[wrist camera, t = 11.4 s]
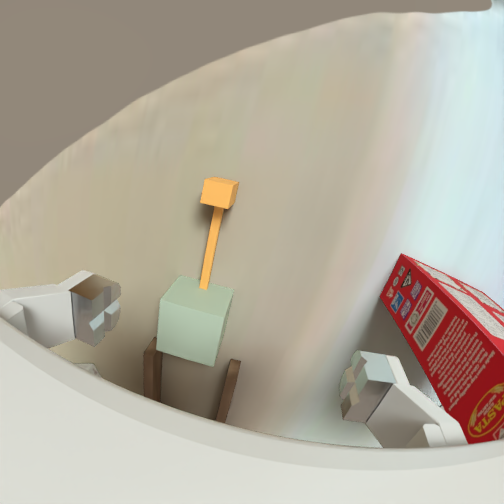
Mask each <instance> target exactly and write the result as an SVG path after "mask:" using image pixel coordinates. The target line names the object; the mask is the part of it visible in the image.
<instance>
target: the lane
mask: <svg viewBox="0 0 504 504" xmlns="http://www.w3.org/2000/svg"><path fill="white" fill-rule="evenodd" d="M156 346H157V338H156V337H154V339H153V340H152V342H151V343H150V345H149V346H148V348H147V349H146V351H145V352H144V397H146V398H149V399H152V400H154V401H157V402H159V403H160V393H161V370H162V353H163V352H161V351H158V350H156ZM240 363H241V361H238V360H233V359H231V361H230V365H229V369H228V373H227V377H226V381H225V385H224V389H223V393H222V397H221V401H220V405H219V409H218V413H217V417H216V421H217V422H221V423H224V424H225V420H226V417H227V413H228V410H229V406H230V403H231V399H232V396H233V392H234V389H235V385H236V381H237V377H238V372H239V367H240Z"/></svg>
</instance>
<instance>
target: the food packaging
mask: <svg viewBox="0 0 504 504" xmlns="http://www.w3.org/2000/svg"><path fill="white" fill-rule="evenodd" d="M380 298H381V300H382V301H383V303H384V304H385V306H386V307H387V309H388V311H389V312H390V314H391V315H392V317H393V319H394V320H395V322H396V324H397V325H398V327H399V328H400V330H401V332H402V333H403V335H404V337H405V339H406V340H407V342H408V344H409V345H410V347H411V349H412V350H413V352H414V354H415V356H416V357H417V359H418V361H419V363H420V365H421V366H422V368H423V370H424V372H425V374H426V375H427V377H428V379H429V381H430V383H431V385H432V386H433V388H434V390H435V392H436V394H437V396H438V398H439V400H440V402H441V404H442V406H443V408H444V410H445V412H446V413H447V414H449V415H450V416H451V417H452V418H453V419H455V420H456V421H457V422H458V423H459V425H460V427H461V429H462V431H463V434H464V436H465V438H466V440H467V443H468V444H474V443H481V442H488V441H494V440H500V439H504V309H502V308H501V307H500V306H499V305H498V304H497V303H495V302H494V301H493V300H492V299H491V298H489V297H488V296H487V295H486V294H485V293H483V292H481V291H479V290H477V289H475V288H473V287H471V286H469V285H467V284H465V283H463V282H461V281H459V280H457V279H455V278H453V277H451V276H449V275H447V274H445V273H443V272H441V271H439V270H436V269H434V268H432V267H430V266H428V265H426V264H424V263H421V262H419V261H417V260H415V259H413V258H410V257H408V256H406V255H404V254H402V253H401V255H400V257H399V259H398V261H397V263H396V265H395V267H394V269H393V271H392V273H391V275H390V277H389V279H388V281H387V283H386V285H385V287H384V289H383V291H382V293H381V295H380Z"/></svg>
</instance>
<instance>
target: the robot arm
mask: <svg viewBox="0 0 504 504" xmlns="http://www.w3.org/2000/svg"><path fill="white" fill-rule="evenodd" d="M120 295H121V287H120V285H119V283H117V282H114V281H112V280H109V279H107V278H104V277H102V276H99V275H97V274H95V273H92V272H89V271H86V270H82V271H80V272H78V273H77V274H75V275H73V276H72V277H70V278H68V279H67V280H65V281H63V282H62V283H60V284H58V285H55V284H49V285H40V286H32V287H23V288H14V289H5V290H0V504H504V439H500V440H494V441H488V442H481V443H474V444H468V443H467V440H466V438H465V436H464V434H463V431H462V429H461V427H460V425H459V423H458V422H457V421H456V420H455V419H453V418H452V417H451V416H450V415H449V414H447V413H446V412H445V410H444V408H443V406H441V407H439V406H438V405H436V404H435V403H434V402H433V401H432V400H430V399H429V398H428V397H427V396H426V395H424V394H423V393H422V392H421V391H419V390H418V389H417V388H416V387H415V386H411V385H410V384H409V381H408V379H407V377H406V374H405V372H404V370H403V368H402V365H401V363H400V361H399V359H398V357H396V356H392V355H384V354H377V353H371V352H365V351H359V350H356V352H355V353H354V354H353V356H352V358H351V365H352V366H351V367H349V368H347V369H346V370H345V371H344V373H343V375H342V377H341V381H340V385H339V394H340V397H341V398H342V399H343V400H344V401H343V403H342V404H341V409H342V417H343V420H349V421H356V422H364V423H366V425H367V426H368V428H369V429H370V431H371V432H372V433H373V435H374V436H375V437H376V439H377V440H378V441H379V443H380V444H381V445H382V447H383V448H374V447H357V446H345V445H335V444H326V443H318V442H311V441H304V440H298V439H292V438H286V437H281V436H276V435H271V434H266V433H261V432H257V431H252V430H248V429H244V428H240V427H236V426H232V425H228V424H224V423H221V422H217V421H214V420H210V419H207V418H204V417H200V416H197V415H194V414H191V413H188V412H185V411H182V410H179V409H176V408H173V407H170V406H167V405H165V404H162V403H159V402H157V401H154V400H152V399H149V398H146V397H144V396H141V395H139V394H137V393H134V392H132V391H129V390H127V389H125V388H123V387H120V386H118V385H116V384H114V383H112V382H109V381H107V380H105V379H103V378H101V377H99V376H97V375H95V374H93V373H91V372H89V371H87V370H85V369H83V368H81V367H79V366H77V365H76V364H74V363H72V362H70V361H68V360H66V359H65V358H63V357H61V356H59V355H58V354H56V353H54V352H53V351H51V350H49V349H48V348H51V347H54V346H57V345H60V344H62V343H65V342H68V341H71V340H74V339H75V338H76V339H78V340H81V341H83V342H85V343H87V344H89V345H92V346H94V347H95V346H96V345H97V344H98V343H99V342H100V341H101V340H102V339H103V338H104V337H105V332H106V331H110V330H112V329H113V328H114V327H115V326H116V324H117V322H118V320H119V316H120V305H119V303H118V301H117V299H118V298H119V297H120Z"/></svg>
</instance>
